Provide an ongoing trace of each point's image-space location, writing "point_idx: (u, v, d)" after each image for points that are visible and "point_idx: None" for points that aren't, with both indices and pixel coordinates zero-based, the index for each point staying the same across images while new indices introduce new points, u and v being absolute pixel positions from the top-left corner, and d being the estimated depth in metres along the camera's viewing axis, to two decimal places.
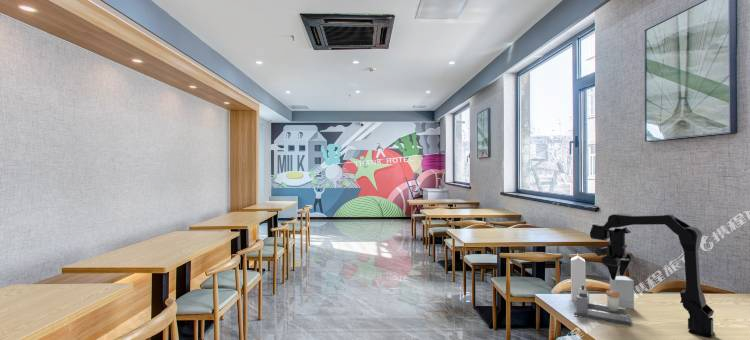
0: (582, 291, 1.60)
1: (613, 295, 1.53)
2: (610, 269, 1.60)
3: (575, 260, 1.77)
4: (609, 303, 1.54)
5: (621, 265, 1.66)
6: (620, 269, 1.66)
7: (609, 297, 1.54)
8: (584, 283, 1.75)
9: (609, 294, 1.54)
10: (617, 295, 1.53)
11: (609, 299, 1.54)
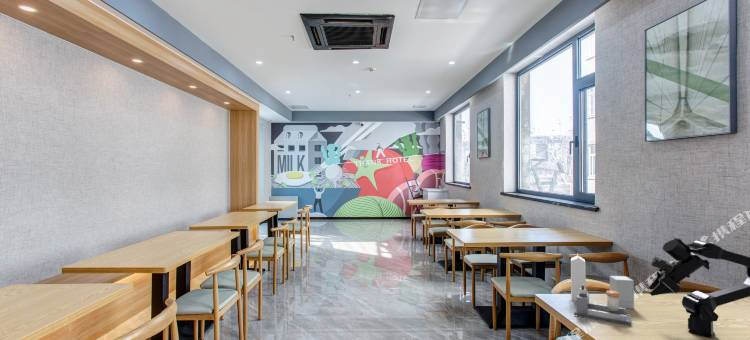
0: (582, 291, 1.60)
1: (613, 295, 1.53)
2: (659, 287, 1.42)
3: (575, 260, 1.77)
4: (609, 303, 1.54)
5: (658, 281, 1.50)
6: (654, 283, 1.51)
7: (609, 297, 1.54)
8: (584, 283, 1.75)
9: (609, 294, 1.54)
10: (617, 295, 1.53)
11: (609, 299, 1.54)
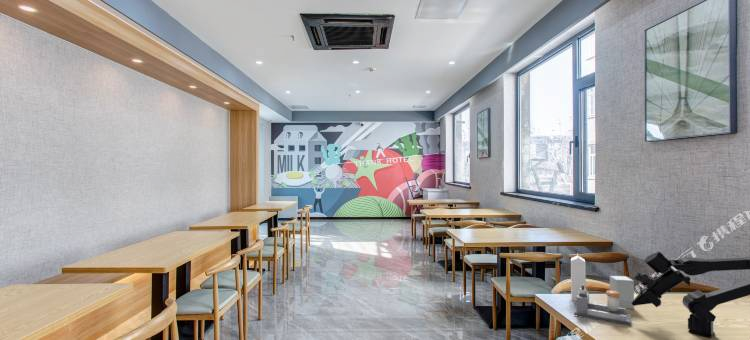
0: (582, 291, 1.60)
1: (613, 295, 1.53)
2: (640, 298, 1.48)
3: (575, 260, 1.77)
4: (609, 303, 1.54)
5: None
6: None
7: (609, 297, 1.54)
8: (584, 283, 1.75)
9: (609, 294, 1.54)
10: (617, 295, 1.53)
11: (609, 299, 1.54)
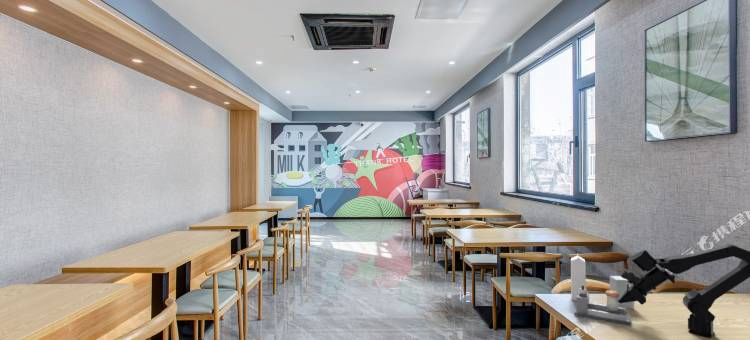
0: (582, 291, 1.60)
1: (612, 295, 1.53)
2: (627, 295, 1.51)
3: (575, 260, 1.77)
4: (608, 303, 1.54)
5: None
6: None
7: (608, 297, 1.54)
8: (584, 283, 1.75)
9: (608, 294, 1.54)
10: (616, 295, 1.53)
11: (608, 299, 1.54)
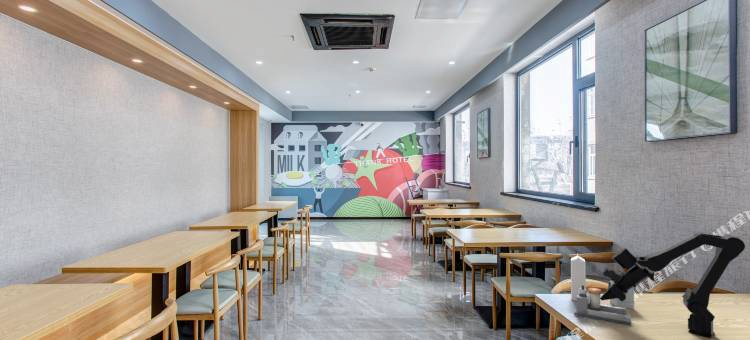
0: (582, 291, 1.60)
1: (595, 292, 1.56)
2: (608, 293, 1.54)
3: (575, 260, 1.77)
4: (591, 300, 1.58)
5: None
6: None
7: (591, 294, 1.58)
8: (584, 283, 1.75)
9: (591, 291, 1.57)
10: (598, 292, 1.56)
11: (591, 296, 1.58)
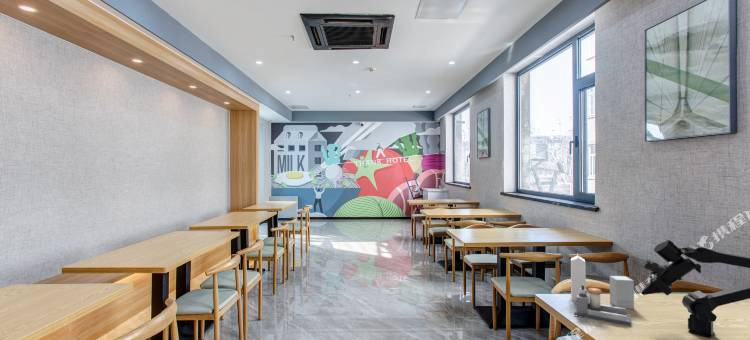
0: (582, 291, 1.60)
1: (595, 292, 1.56)
2: (650, 286, 1.47)
3: (575, 260, 1.77)
4: (591, 300, 1.58)
5: None
6: None
7: (591, 294, 1.58)
8: (584, 283, 1.75)
9: (591, 291, 1.57)
10: (598, 292, 1.56)
11: (591, 296, 1.58)
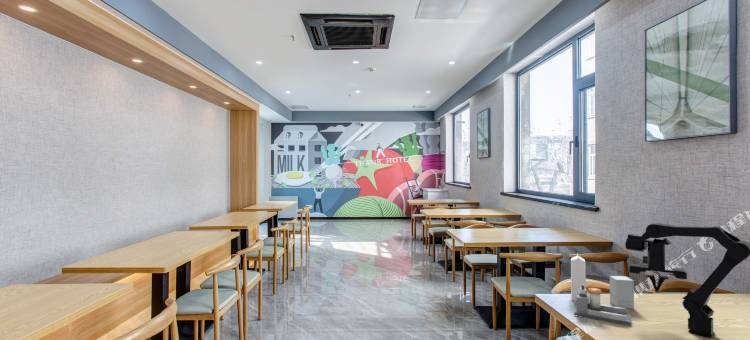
0: (582, 291, 1.60)
1: (595, 292, 1.56)
2: None
3: (575, 260, 1.77)
4: (591, 300, 1.58)
5: (657, 280, 1.52)
6: None
7: (591, 294, 1.58)
8: (584, 283, 1.75)
9: (591, 291, 1.57)
10: (598, 292, 1.56)
11: (591, 296, 1.58)
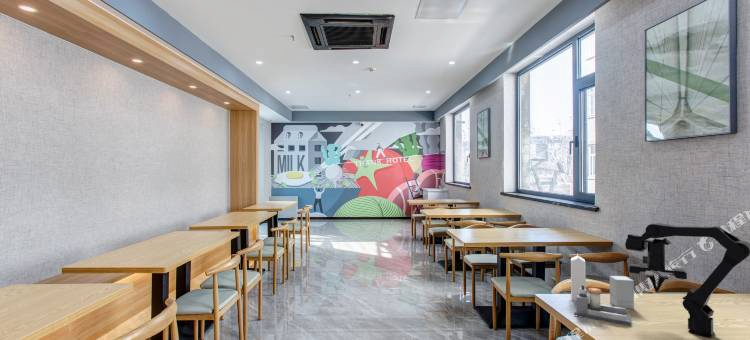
0: (582, 291, 1.60)
1: (595, 292, 1.56)
2: None
3: (575, 260, 1.77)
4: (591, 300, 1.58)
5: (657, 280, 1.52)
6: None
7: (591, 294, 1.58)
8: (584, 283, 1.75)
9: (591, 291, 1.57)
10: (598, 292, 1.56)
11: (591, 296, 1.58)
